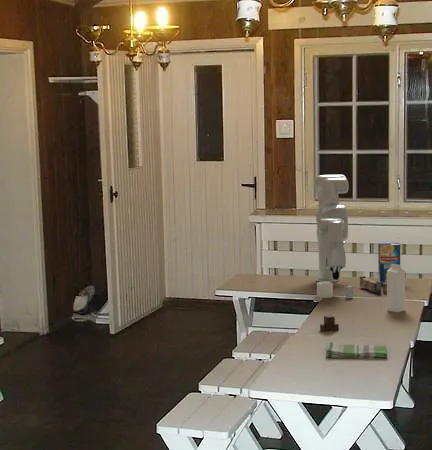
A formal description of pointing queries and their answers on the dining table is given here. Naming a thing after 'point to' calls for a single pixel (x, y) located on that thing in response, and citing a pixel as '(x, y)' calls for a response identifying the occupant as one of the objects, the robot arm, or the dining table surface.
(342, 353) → the dish towel
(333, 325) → the stack of crates
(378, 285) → the pivot post
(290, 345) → the dining table surface
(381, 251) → the blue food box
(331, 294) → the toilet paper
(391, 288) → the milk
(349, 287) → the latch post
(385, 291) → the fence panel
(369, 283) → the brown bar
